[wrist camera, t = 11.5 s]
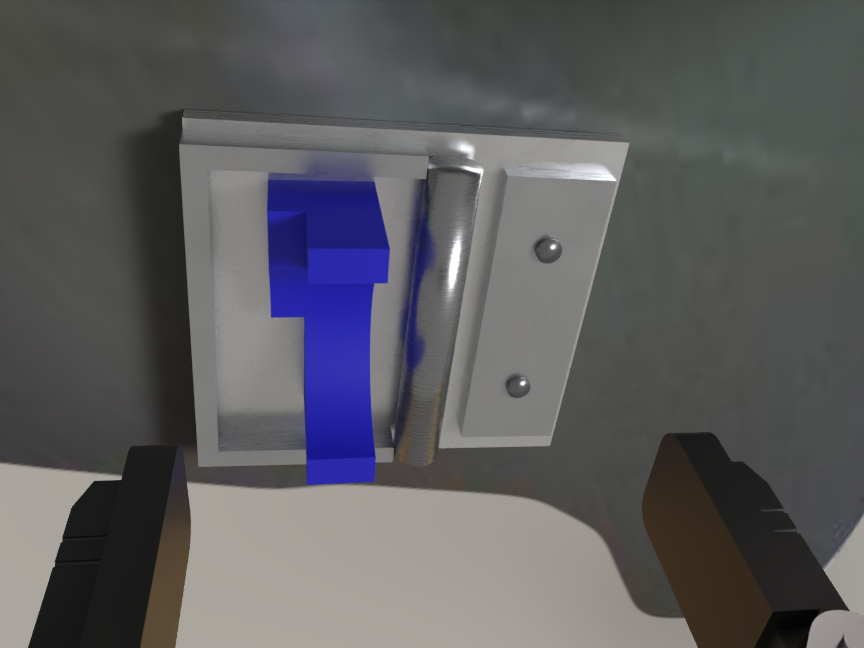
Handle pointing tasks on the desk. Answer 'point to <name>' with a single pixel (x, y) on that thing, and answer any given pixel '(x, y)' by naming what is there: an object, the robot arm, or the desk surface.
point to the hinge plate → (397, 278)
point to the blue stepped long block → (330, 312)
